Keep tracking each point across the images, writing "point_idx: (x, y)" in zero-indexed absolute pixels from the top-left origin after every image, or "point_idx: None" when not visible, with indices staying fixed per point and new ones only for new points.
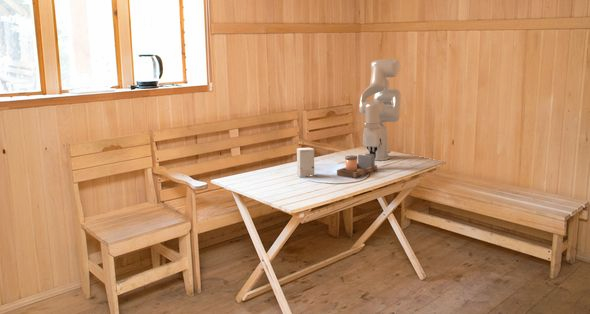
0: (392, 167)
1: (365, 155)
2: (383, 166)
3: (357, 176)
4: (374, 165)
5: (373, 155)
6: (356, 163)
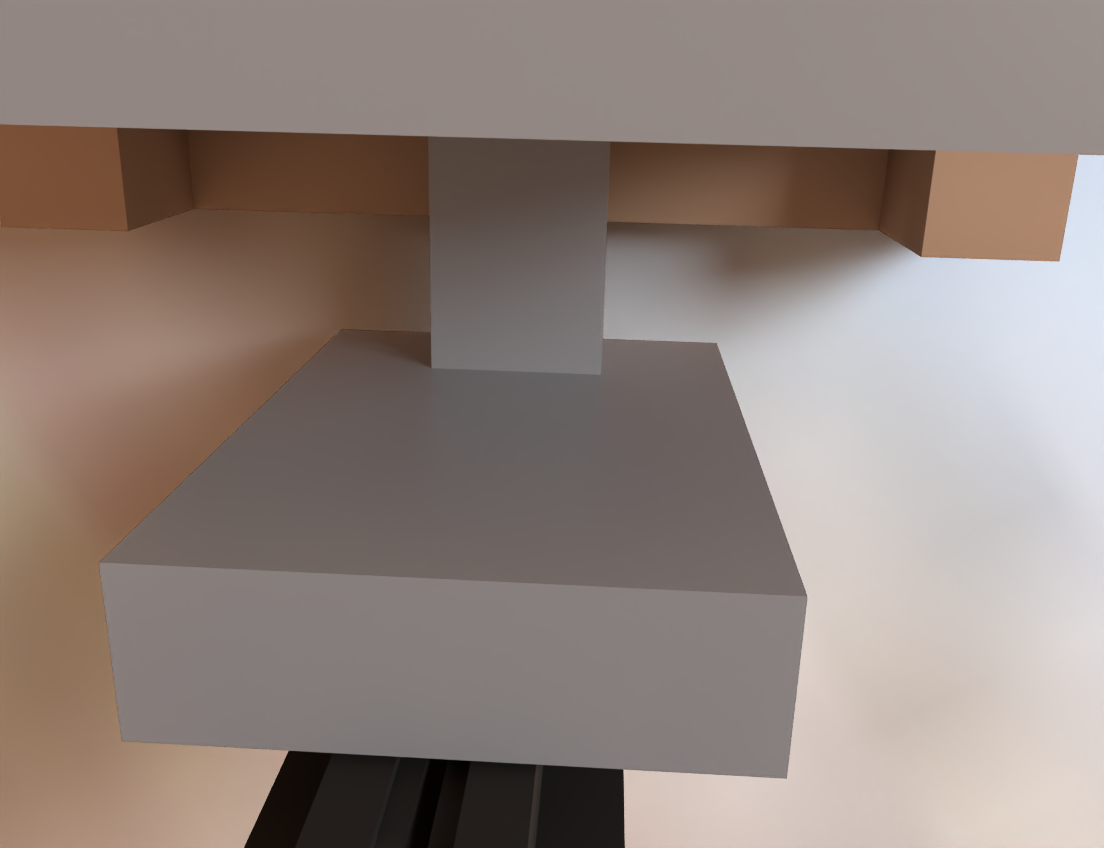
0: (45, 840)
1: (440, 37)
2: None
3: None
4: (98, 181)
5: (133, 590)
6: None
